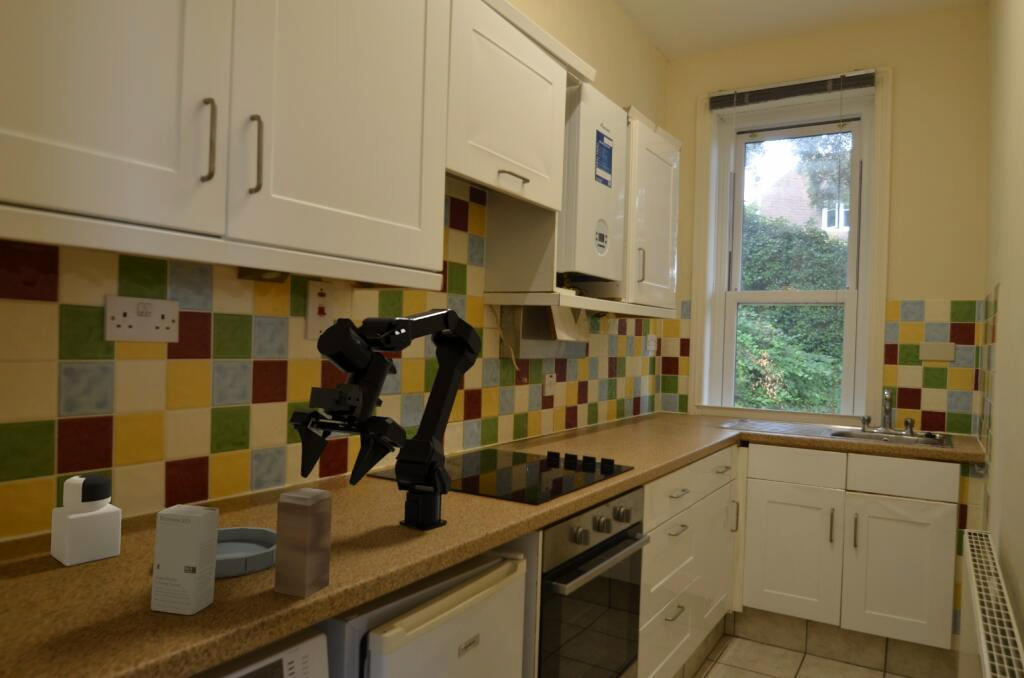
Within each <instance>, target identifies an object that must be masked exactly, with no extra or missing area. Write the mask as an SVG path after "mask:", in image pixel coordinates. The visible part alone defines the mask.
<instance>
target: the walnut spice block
mask: <svg viewBox="0 0 1024 678" xmlns="http://www.w3.org/2000/svg"><path fill="white" fill-rule="evenodd" d="M332 502H333V497H331V490H326V489H325V490H324V489H318V488H317V489H316V488H311V487H304V486H303V487H302V486H301V487H300V488H296V489H291V490H290V491H286V492H283V493H280V494H279V501H277V505H276V507H277V509H276V511H277V512H276V513H277V515H276V531H277V535H276V564H275V565H274V566H275V567H274V568H275V570H274V593H278V594H279V593H280V594H284V595H289V596H293V597H298V598H304V599H306V598H308V597H309V596H312V595H313V594H316V593H317V592H319V591H321V590H323V589H325V588H326V587H328V586H330V568H331V566H330V565H331V564H330V563H331V539H332V538H331V536H332V534H331V533H332V511H333V510H332V509H333V507H332V504H333V503H332Z"/></svg>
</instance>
